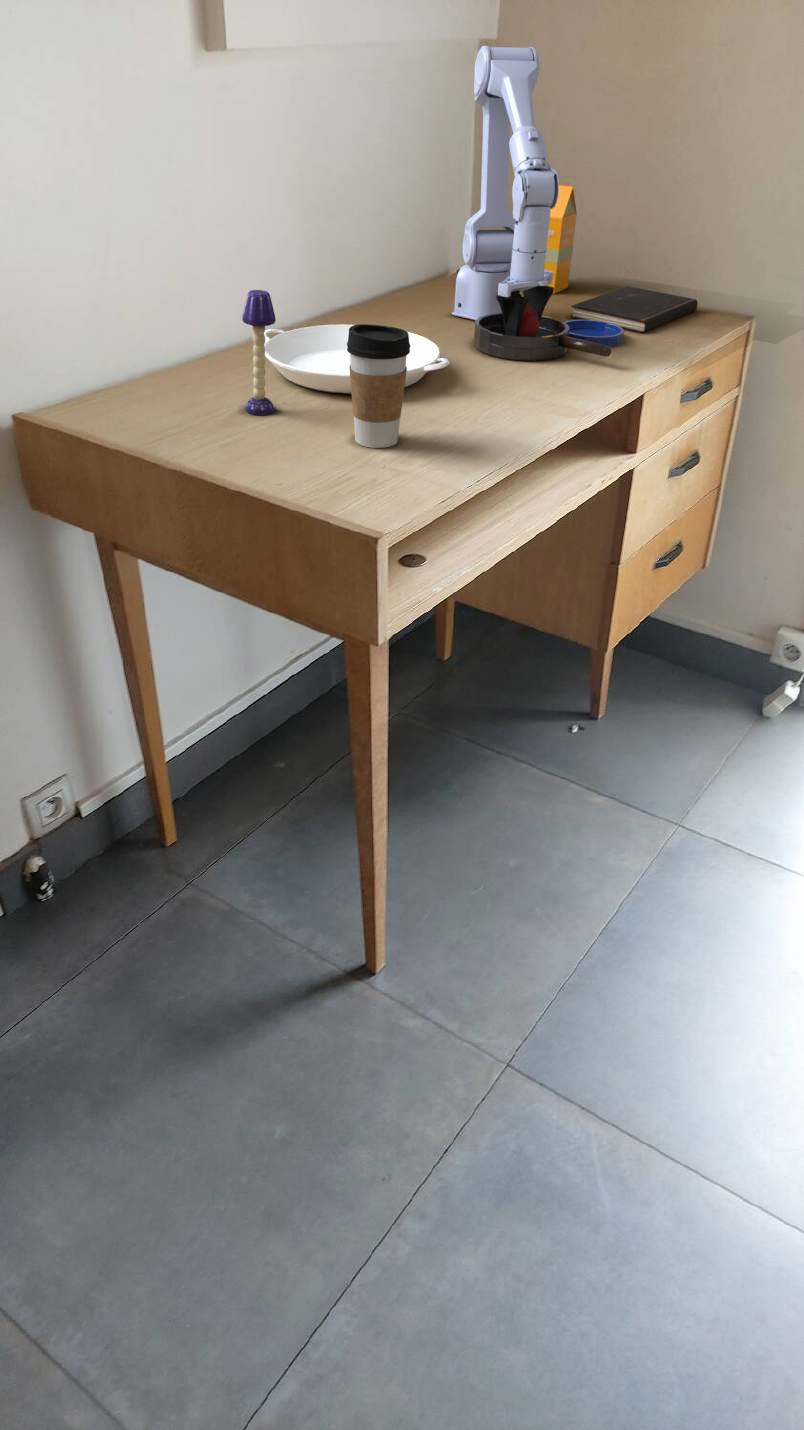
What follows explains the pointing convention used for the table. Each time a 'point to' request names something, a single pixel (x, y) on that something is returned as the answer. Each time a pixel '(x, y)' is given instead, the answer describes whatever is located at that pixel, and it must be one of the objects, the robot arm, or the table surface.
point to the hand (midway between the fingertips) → (521, 332)
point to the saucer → (596, 332)
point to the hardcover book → (634, 308)
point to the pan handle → (585, 346)
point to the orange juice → (561, 238)
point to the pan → (336, 357)
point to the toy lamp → (259, 347)
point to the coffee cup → (377, 382)
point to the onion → (529, 322)
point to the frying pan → (519, 339)
